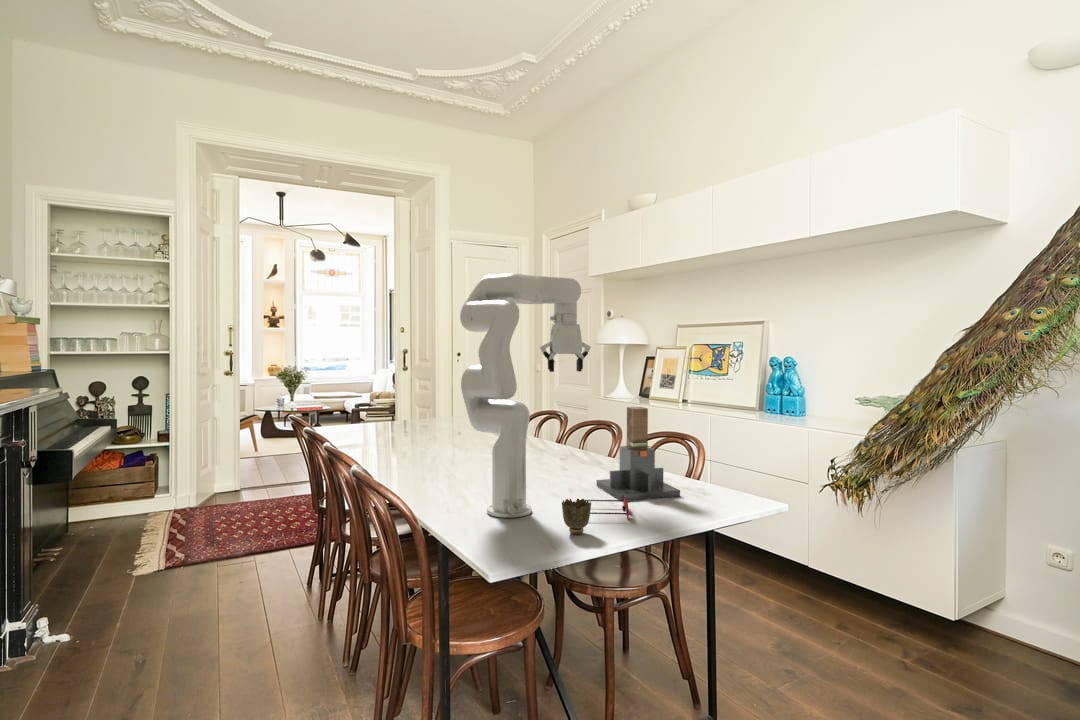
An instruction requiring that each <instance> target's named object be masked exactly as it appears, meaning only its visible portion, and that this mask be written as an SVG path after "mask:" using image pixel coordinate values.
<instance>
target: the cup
mask: <svg viewBox="0 0 1080 720" xmlns="http://www.w3.org/2000/svg"><path fill="white" fill-rule="evenodd" d="M585 500H587V501H585ZM588 500H589V499H585V498H581V499H579V498H577V499H576V500H575V501H574V500H572V498H570V499H568V498H566V499H565V500H562V501H561V510H562V517H563V521H564V524H565V525H566V527H568V528H569V529H568V531H569V533H570V534H571V535H575V536H579V535H582V534H583V533H584V532H585V530H584V528H585V527H587V525H588V524H589V521H590V517H591V514H590V513H591V508H592V501H588Z"/></svg>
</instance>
